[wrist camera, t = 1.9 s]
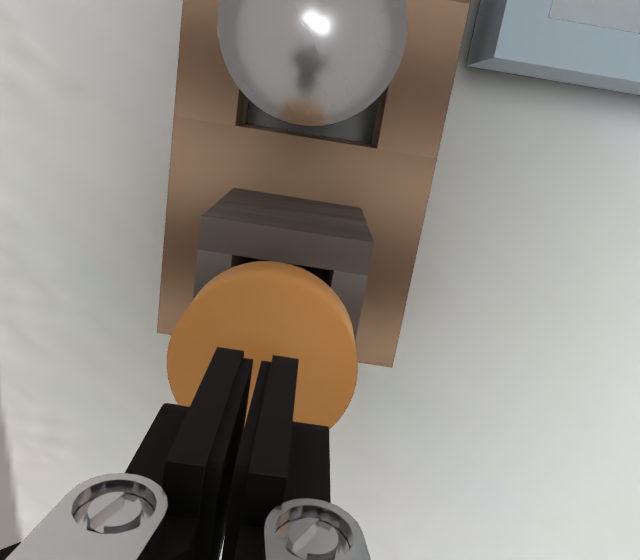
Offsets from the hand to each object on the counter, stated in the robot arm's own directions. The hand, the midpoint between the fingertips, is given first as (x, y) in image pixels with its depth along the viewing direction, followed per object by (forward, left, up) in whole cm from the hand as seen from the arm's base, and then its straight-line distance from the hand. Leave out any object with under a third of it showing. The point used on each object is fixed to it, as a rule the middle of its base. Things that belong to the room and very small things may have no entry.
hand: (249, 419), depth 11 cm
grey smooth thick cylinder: (-8, 0, -15) cm, 17 cm away
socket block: (-4, 0, -15) cm, 15 cm away
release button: (0, 0, -9) cm, 9 cm away
